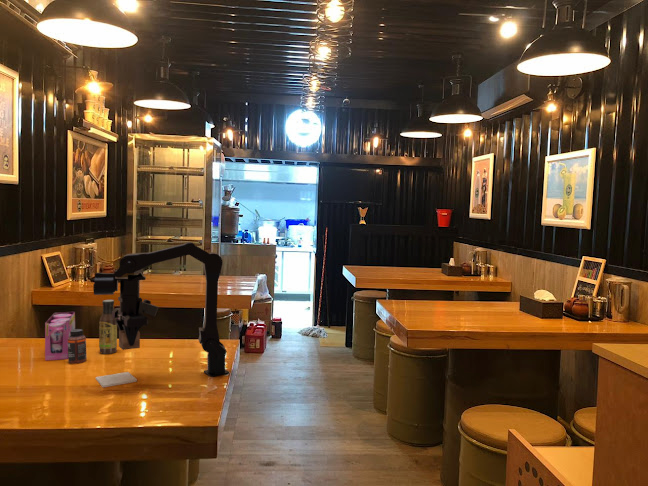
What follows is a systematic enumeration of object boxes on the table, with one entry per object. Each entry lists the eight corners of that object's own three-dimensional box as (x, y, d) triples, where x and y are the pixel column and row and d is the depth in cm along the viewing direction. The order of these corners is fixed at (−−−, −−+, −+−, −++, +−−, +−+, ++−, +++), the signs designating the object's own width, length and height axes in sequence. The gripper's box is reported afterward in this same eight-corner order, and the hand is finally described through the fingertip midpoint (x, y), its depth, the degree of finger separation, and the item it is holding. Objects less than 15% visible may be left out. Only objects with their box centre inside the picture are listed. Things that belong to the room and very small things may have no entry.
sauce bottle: (95, 353, 197) (94, 301, 196) (107, 349, 202) (106, 298, 201) (109, 355, 194) (108, 302, 193) (121, 351, 200) (120, 299, 199)
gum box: (68, 360, 188) (67, 322, 187) (43, 362, 185) (43, 324, 185) (76, 344, 211) (75, 311, 210) (54, 346, 208) (53, 312, 207)
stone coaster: (136, 381, 163) (136, 379, 163) (102, 387, 158) (102, 385, 158) (128, 373, 172) (128, 371, 172) (95, 379, 166) (95, 377, 166)
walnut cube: (139, 347, 163) (139, 332, 163) (123, 349, 160) (123, 333, 160) (135, 344, 167) (135, 329, 167) (118, 346, 164) (118, 330, 164)
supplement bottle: (90, 359, 188) (89, 328, 188) (80, 364, 182) (80, 332, 182) (74, 359, 189) (73, 328, 188) (64, 363, 183) (63, 331, 183)
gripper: (165, 296, 160) (164, 347, 161) (146, 289, 175) (146, 335, 176) (127, 299, 154) (127, 351, 154) (111, 291, 169) (111, 339, 169)
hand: (129, 343), depth 164 cm, fingers closed on walnut cube, 5 cm apart
